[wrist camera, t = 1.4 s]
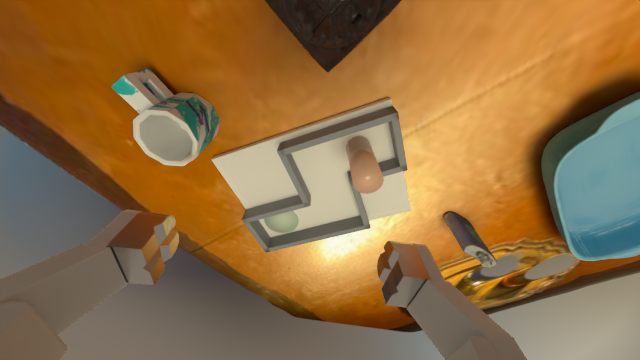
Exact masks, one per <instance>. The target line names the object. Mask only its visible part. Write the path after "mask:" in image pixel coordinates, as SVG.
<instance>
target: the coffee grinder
mask: <svg viewBox="0 0 640 360" xmlns="http://www.w3.org/2000/svg"><path fill="white" fill-rule="evenodd" d="M265 1H266V2H267V3H268V5H269V6H270V7H271V9H272V10H273V11H274V12H275V13H276V15H277V16H278V17H279V18H280V19H281V20H282V22H283V23H284V24H285V25H286V26H287V28H288V29H289V30H290V31H291V32H292V33H293V35H294V36H295V37H296V38H297V39H298V41H299V42H300V43H301V44H302V45H303V47H304V48H305V49H306V50H307V51H308V52H309V54H310V55H311V56H312V57H313V58H314V59H315V60H316V61H317V62H318V64H319V65H320V66H321V67H322V68H323V69H325V70H326V71H327V72H330V71H331V70H332V69H333V68H334V67H335V66H336V65H337V64H338V63H339V62H340V61H342V60H343V59H344V58H345V57H346V56H347V55H348V54H349V53H350V52H351V51H352V50H353V49H354V48H355V47H356V46H357V45H358V44H359V43H360V42H361V41H362V40H363V39H364V38H365V37H366V36H367V35H368V34H369V33H370V32H371V31H372V30H373V29H374V28H375V27H376V26H377V25H378V24H379V23H380V22H381V21H383V20H384V19H385V18H386V17H387V16H388V15H389V14H390V13H391V12H392V10H393V9H394V8H395V7H396V6H397V5H398V4H399V3H400V1H401V0H265Z"/></svg>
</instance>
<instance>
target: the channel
mask: <svg viewBox="0 0 640 360" xmlns="http://www.w3.org/2000/svg"><path fill="white" fill-rule="evenodd" d="M356 136H363V137H365V138H367V139H368V140H369V142H370V145H371V147H372V150H373V152H374V155H375V157H376V160H377V162H378V165H379V167H380V170H381V172H382V175H383V178H384V181H383V184H382V186H381V187H380V188H379V189H378V190H377V191H375V192H373V193H368V194H365V193H360V192H358V191H357V190H356V189H355V188H354V186H353V182H352V177H351V172H350V166H349V161H348V156H347V151H346V145H347V143H348V141H349V140H350V139H351V138H353V137H356ZM212 161H213V163H214V164H215V166H216V167H217V169H218V170H219V171H220V173H221V174H222V176H223V177H224V179H225V180H226V181H227V183H228V184H229V186H230V187H231V189H232V190H233V191H234V193H235V194H236V196H237V197H238V199H239V200H240V201H241V203H242V204H243V206H244V207H245V209H246V211H245V213H244V216H243V218H242V221H243V222H244V224H245V225H246V226H247V228H248V229H249V230H250V232H251V233H252V234H253V236H254V237H255V238H256V240H257V241H258V243H259V244H260V245H261V247H262V248H263V249H264V251H265V252H270V251H274V250H278V249H283V248H287V247H291V246H296V245H300V244H304V243H308V242H313V241H317V240H321V239H325V238H330V237H334V236H338V235H342V234H347V233H351V232H355V231H359V230H364V229H368V228H370V224H369V220H373V219H377V218H381V217H386V216H390V215H394V214H398V213H402V212H406V211H411V209H410V203H409V197H408V192H407V186H406V180H405V174H404V171H406V170H407V164H406V158H405V152H404V146H403V140H402V134H401V128H400V122H399V116H398V112H397V111H396V109H395V108H394V107H393V106H392V100H391V98H390V97H388V98H385V99H382V100H379V101H376V102H373V103H370V104H367V105H364V106H361V107H358V108H355V109H353V110H350V111H347V112H344V113H341V114H338V115H335V116H332V117H329V118H326V119H323V120H320V121H317V122H314V123H311V124H308V125H305V126H302V127H299V128H296V129H293V130H290V131H288V132H285V133H282V134H279V135H276V136H273V137H270V138H267V139H264V140H261V141H258V142H255V143H252V144H249V145H246V146H243V147H240V148H237V149H234V150H231V151H228V152H226V153H223V154H220V155H217V156H214V157H213V158H212ZM290 211H293V212H294V213H295V214H296V215H297V216H298V220H299V222H298V226H297V227H296V228H295V229H294V230H293V231H291V232H287V233H278V232H275V231H273V230H271V229H269V228H268V227H267V226H266V224H265V221H264V218H267V217H271V216H275V215H278V214H282V213H286V212H290Z"/></svg>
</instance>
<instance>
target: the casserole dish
mask: <svg viewBox="0 0 640 360" xmlns="http://www.w3.org/2000/svg"><path fill="white" fill-rule="evenodd" d="M541 169H542V176H543V181H544V184H545V188H546V192H547V196H548V199H549V203H550V207H551V210H552V214H553V218H554V221H555V223H556V226H557V228H558V230H559V233H560V235H561V236H562V238H563V240H564V241H565V243H566V245H567V246H568V248H569V250H570V252H571V253H572V254H573V255H574V256H575V257H576V258H578V259H580V260H584V261H596V260H603V259H609V258H627V257H633V256H637V255H640V91H639V92H637V93H634V94H632V95H630V96H628V97H626V98H624V99H622V100H619V101H617V102H615V103H613V104H611V105H609V106H607V107H605V108H603V109H601V110H599V111H597V112H595V113H593V114H591V115H589V116H587V117H585V118H583V119H581V120H579V121H577V122H575V123H573V124H572V125H570V126H568V127H566V128H565V129H563V130H562V131H560V132H559V133H557V134H556V135H555V136H554V137H553V138H552V139H551V140H550V141H549V142H548V144H547V145H546V147H545V149H544V151H543V154H542V159H541Z"/></svg>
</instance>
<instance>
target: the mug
mask: <svg viewBox="0 0 640 360" xmlns="http://www.w3.org/2000/svg"><path fill="white" fill-rule="evenodd" d="M112 88H113V89H114V90H115V91H116V92H117V93H118V94H119V95H120V96H121V97H122V98H123V99H124V100H125V101H127V102H128V103H129V104H130V105H131V106H132V107H133V108H134V109H135V110H136V111H137V112H138V113H139V114H140V115H139V116H137V117H136V118H135V119H134V120H133V131H134V139H135V140H136V141H137V143H138V144H139V145H140V147H141V148H142V149H143V151H144V152H145V153H146V155H148V156H150V157H152V158H154V159H155V160H157V161H159V162H161V163H162V164H164V165H174V166H184V165H186V164H187V163H189V162H190V161H192V160H193V159H195V158H196V157H197V156H198V155H199V154H200V153H201V152H202V151H203V150H204V148H205V147H206V146H207V145H208V144H209V143H210V142H211V141H212V140H213V139H214V138H215V137H216V135H217V134H218V130H219V125H220V119H219V117H218V115H217V113H216V111H215V109H214V107H213V105H212V104H211V103H209V102H208V101H206V100H205V99H203V98H202V97H201V96H199V95H198V94H192V93H178V94H176V95H173V93H172V92H171V91H170V90H169V89H168V88H167V87H166V86H165V85H164V84H163V83H162V82H161V81H160V80H159V78H158V77H157V76H156V75H155V74H154V73H153V72H152V71H151V70H150V69H149V68H148V69H145V70H141V71H137V72H134V73H130V74H126V75H123V76H122V77H121V78H120V79H119V80H118V81H117V82H116V83H115V84H114V85H113V86H112Z"/></svg>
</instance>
